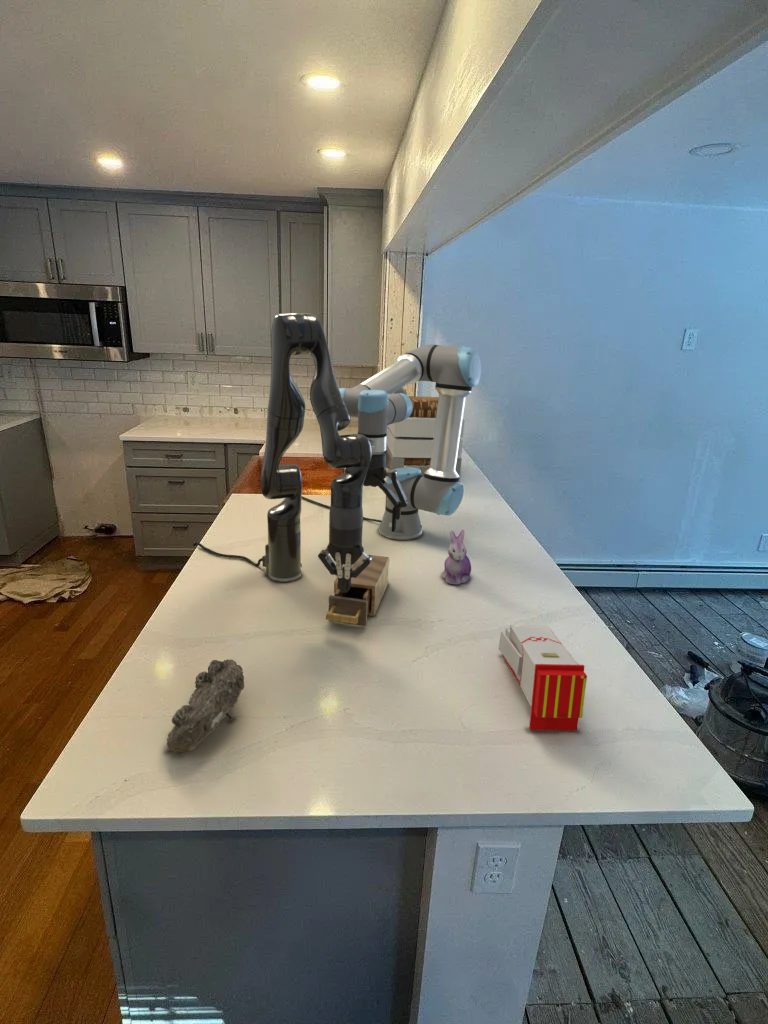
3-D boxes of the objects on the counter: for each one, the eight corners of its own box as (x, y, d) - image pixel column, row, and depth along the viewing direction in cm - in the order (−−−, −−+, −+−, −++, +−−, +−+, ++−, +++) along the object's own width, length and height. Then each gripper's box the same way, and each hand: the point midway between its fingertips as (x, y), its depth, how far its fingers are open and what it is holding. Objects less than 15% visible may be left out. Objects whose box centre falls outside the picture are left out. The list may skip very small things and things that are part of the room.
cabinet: (374, 616, 146) (375, 586, 143) (333, 610, 148) (334, 581, 145) (388, 584, 163) (389, 557, 160) (351, 579, 165) (352, 552, 162)
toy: (545, 610, 133) (596, 671, 104) (540, 662, 136) (588, 737, 106) (494, 609, 133) (530, 670, 103) (490, 662, 135) (524, 736, 106)
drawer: (360, 639, 134) (360, 614, 132) (321, 633, 135) (321, 609, 133) (380, 593, 155) (381, 571, 153) (346, 589, 157) (347, 567, 155)
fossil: (192, 660, 117) (244, 628, 112) (224, 691, 120) (276, 661, 115) (142, 746, 98) (202, 712, 93) (182, 779, 101) (242, 748, 96)
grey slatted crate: (382, 463, 289) (386, 382, 275) (445, 464, 293) (451, 384, 279) (390, 482, 257) (394, 392, 243) (460, 483, 261) (468, 394, 247)
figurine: (453, 588, 162) (457, 540, 157) (434, 573, 170) (437, 527, 165) (479, 582, 166) (485, 535, 161) (459, 568, 175) (464, 523, 170)
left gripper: (312, 524, 125) (312, 594, 131) (370, 531, 123) (368, 602, 129) (322, 513, 132) (322, 580, 138) (378, 520, 130) (375, 587, 136)
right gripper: (321, 450, 146) (321, 527, 153) (417, 459, 141) (412, 537, 149) (329, 444, 153) (329, 517, 160) (421, 451, 148) (416, 527, 156)
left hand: (344, 591), depth 133 cm, fingers closed
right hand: (369, 527), depth 154 cm, fingers open, 13 cm apart
